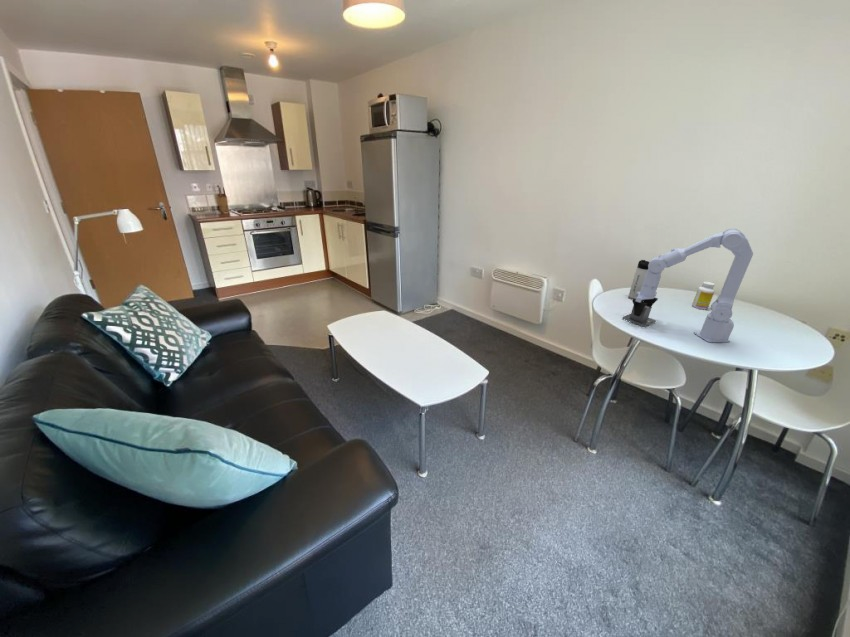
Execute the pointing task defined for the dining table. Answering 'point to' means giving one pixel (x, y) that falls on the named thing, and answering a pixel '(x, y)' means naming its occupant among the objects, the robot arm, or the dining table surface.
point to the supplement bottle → (704, 296)
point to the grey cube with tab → (643, 315)
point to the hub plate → (643, 324)
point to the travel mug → (638, 279)
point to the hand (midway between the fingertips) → (640, 313)
